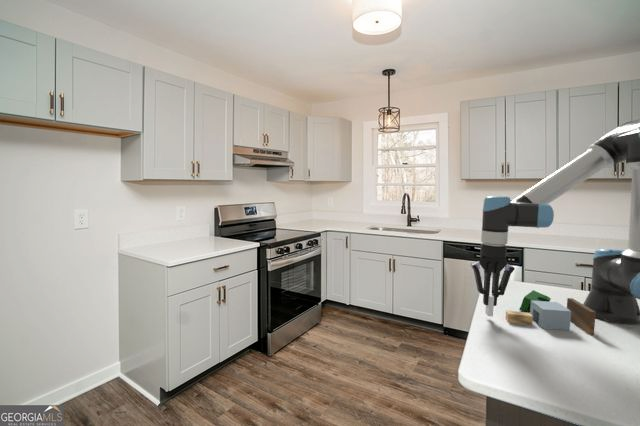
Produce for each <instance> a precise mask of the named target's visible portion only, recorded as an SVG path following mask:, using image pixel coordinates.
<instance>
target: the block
mask: <svg viewBox="0 0 640 426" xmlns="http://www.w3.org/2000/svg"><path fill="white" fill-rule="evenodd" d="M529 313H530V314H531V315H532V316H533V321H537V322H538V323H537V325H538V326H539V328H540V329H548V330H550V329H551V330H562V331H570V329H571V322H570V321H571V311H570V310H569V309H567V307H566V306H564V305H563V304H560V303H559V302H557V301H550V302H547V301H532V300H531V306H530V310H529Z"/></svg>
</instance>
